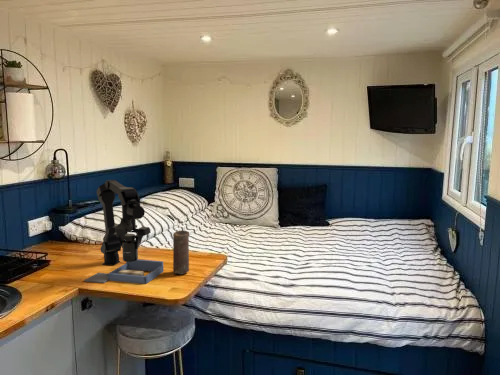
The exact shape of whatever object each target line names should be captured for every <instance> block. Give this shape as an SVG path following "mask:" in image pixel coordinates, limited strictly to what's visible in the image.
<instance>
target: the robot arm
mask: <svg viewBox="0 0 500 375" xmlns="http://www.w3.org/2000/svg"><path fill="white" fill-rule="evenodd" d="M116 195H118V199H119V200H120V205H121V212H122V213H121V216H122V218H120V222H119V223H118V224H115V223H116V222H115V215H114V214H115V213H114V206H113V203H114V201H115V199H116ZM96 197H97V199H98V201H99V202H100V204H101V205H102V212H103V220H104V230H105V234H104V236H103V238H102V244H101V247H100V252H101V253H102V254H103V259H104V260H103V263H102V265H103V266H104V265H106V266H115V265H117V264H119V263H120V262H121V260H120V255H119V252H121V250H122V243H123V241H124V240H125V239H124V235H126V234H128V233H131V234H135V233H136V234H135V236H134V237H135V240H136V249H139V247H140V245H141V242H142V240H143V238H144V237H146V236H147V235H149V234H151V228H150V227H149V226H141V227H139V228H138V225H137V223H136V220H141V219H142V218H143V217H144V216H145V213H146V212H145V209H144V207H143V206H141V203H142V202H141V197H140V195H139V193H138V191H137V190H136V188H134V187H132V186H131V187H128V186H124V185H123V184H121V183H120V182H118V181H117V180H115V179H108V180H107V179H106V181H105V182H104V183H102V184H101V185H99V186H98V188H97V189H96Z"/></svg>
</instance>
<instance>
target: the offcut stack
mask: <svg viewBox="0 0 500 375" xmlns="http://www.w3.org/2000/svg"><path fill="white" fill-rule="evenodd" d="M119 274H127V275H137V276H145V271H142V270H131V269H128V270H121V271H119Z"/></svg>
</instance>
